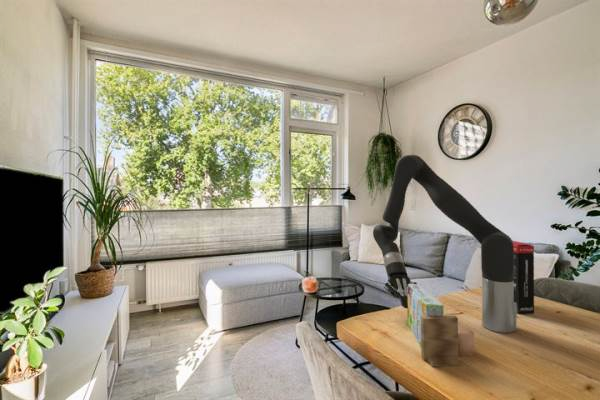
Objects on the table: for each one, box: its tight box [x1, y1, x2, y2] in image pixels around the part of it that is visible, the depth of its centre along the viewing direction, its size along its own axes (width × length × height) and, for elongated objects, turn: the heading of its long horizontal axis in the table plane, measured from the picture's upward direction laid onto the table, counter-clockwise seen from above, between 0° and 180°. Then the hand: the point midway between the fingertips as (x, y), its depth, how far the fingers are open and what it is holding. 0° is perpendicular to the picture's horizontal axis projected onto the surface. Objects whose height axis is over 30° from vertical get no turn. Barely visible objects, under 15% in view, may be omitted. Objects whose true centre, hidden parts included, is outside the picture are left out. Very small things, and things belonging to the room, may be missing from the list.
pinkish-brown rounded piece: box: [458, 326, 475, 357], centre depth 90 cm, size 6×6×6 cm
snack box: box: [406, 283, 444, 347], centre depth 98 cm, size 21×6×15 cm, turn 175°
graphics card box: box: [512, 240, 535, 315], centre depth 123 cm, size 17×7×27 cm, turn 179°
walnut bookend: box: [420, 315, 462, 367], centre depth 85 cm, size 10×5×12 cm, turn 92°
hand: (406, 307), depth 109 cm, fingers closed
